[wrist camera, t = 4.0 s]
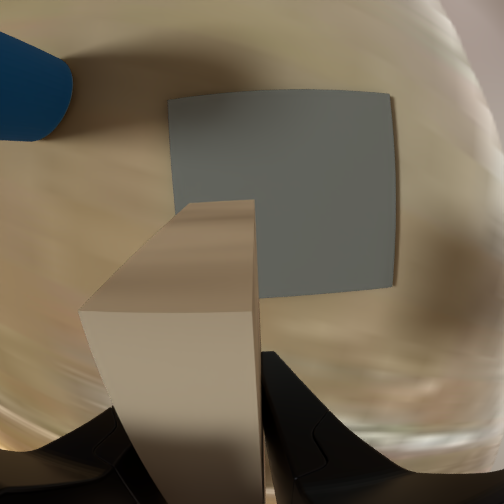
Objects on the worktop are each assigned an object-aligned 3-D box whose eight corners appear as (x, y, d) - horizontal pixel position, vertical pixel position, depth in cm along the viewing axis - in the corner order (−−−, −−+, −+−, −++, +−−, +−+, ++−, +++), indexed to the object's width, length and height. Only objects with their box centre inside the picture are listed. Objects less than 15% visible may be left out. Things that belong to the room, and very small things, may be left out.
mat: (389, 285, 20) (392, 287, 20) (187, 299, 21) (186, 301, 20) (387, 95, 17) (389, 93, 17) (169, 101, 17) (167, 100, 17)
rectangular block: (264, 425, 11) (266, 556, 6) (220, 425, 11) (206, 555, 6) (254, 199, 8) (252, 312, 3) (189, 203, 9) (77, 310, 3)
